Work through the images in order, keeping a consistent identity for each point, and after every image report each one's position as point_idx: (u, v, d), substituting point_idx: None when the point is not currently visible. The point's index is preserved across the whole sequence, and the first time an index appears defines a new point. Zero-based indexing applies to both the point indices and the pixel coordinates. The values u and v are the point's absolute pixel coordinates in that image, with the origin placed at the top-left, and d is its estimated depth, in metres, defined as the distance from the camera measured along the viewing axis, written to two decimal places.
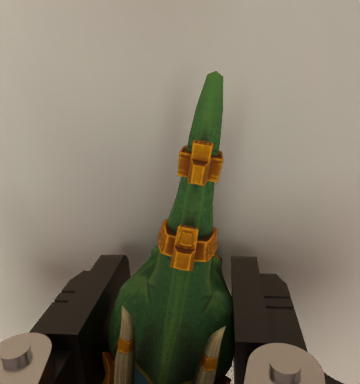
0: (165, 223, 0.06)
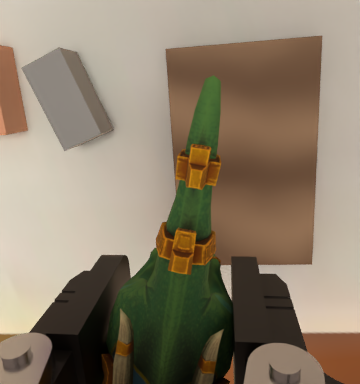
0: (163, 226, 0.06)
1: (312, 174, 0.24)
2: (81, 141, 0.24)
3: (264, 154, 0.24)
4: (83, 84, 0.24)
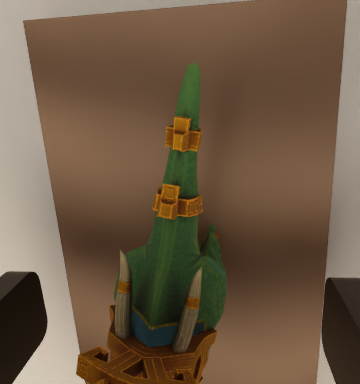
0: (158, 189, 0.08)
1: (318, 270, 0.12)
2: None
3: (226, 230, 0.12)
4: None
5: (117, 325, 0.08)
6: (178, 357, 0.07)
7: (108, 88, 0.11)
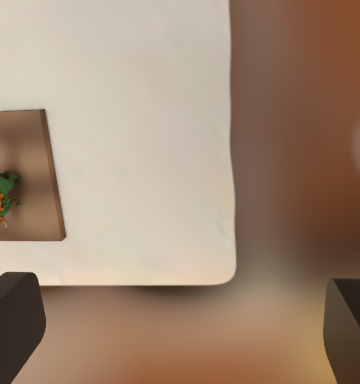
0: None
1: (50, 187, 0.41)
2: None
3: (22, 175, 0.41)
4: None
5: None
6: None
7: None
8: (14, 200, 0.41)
